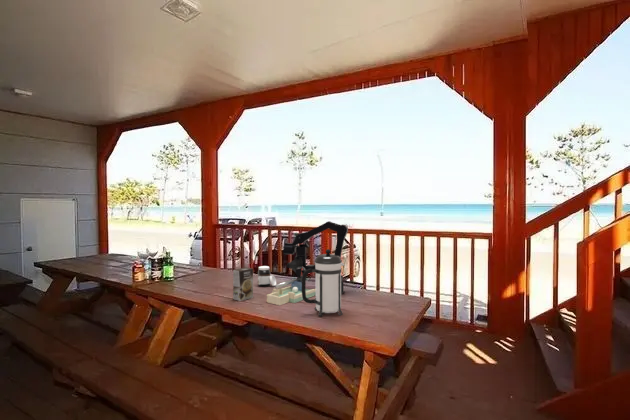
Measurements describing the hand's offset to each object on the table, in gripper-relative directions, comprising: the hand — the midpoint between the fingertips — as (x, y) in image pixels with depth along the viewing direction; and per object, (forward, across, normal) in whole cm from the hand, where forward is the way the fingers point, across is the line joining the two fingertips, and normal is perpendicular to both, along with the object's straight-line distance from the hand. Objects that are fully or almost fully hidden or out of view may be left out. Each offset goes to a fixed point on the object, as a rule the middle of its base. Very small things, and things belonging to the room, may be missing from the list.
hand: (301, 281), depth 194 cm
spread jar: (+6, -26, -3) cm, 26 cm away
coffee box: (+6, -15, -31) cm, 35 cm away
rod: (+3, +3, -9) cm, 10 cm away
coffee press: (+6, +35, -24) cm, 42 cm away
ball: (+4, +5, -11) cm, 12 cm away
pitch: (+6, +5, -15) cm, 16 cm away
